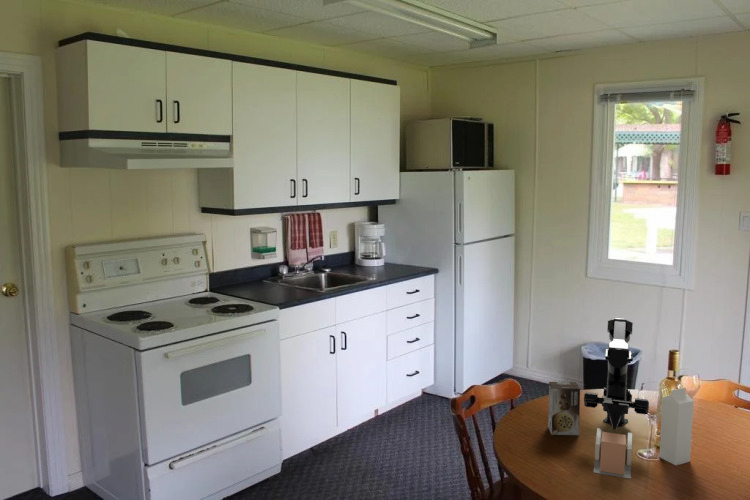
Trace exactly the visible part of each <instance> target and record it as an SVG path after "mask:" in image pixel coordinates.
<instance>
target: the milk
mask: <svg viewBox="0 0 750 500" xmlns="http://www.w3.org/2000/svg"><path fill="white" fill-rule="evenodd" d="M686 391H687V388H686V387H682V388H676V389H671V390H670V395H667V396H663V397H662V402H661V405H662V406H661V418H660V419H661V420H660V439H659V456H658V457H659V458H661V459H662V460H664V461H666V462H668V463H670V464H672V465H673V466H679V465H683V464H686V463H690V462H691V453H692V452H691V451H692V433H693V430H692V429H693V420H694V419H693V416H694V415H693V414H694V402H695V401H694V399H692V398H691V396H690V395H689V394H688V393H687V392H686Z"/></svg>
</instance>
